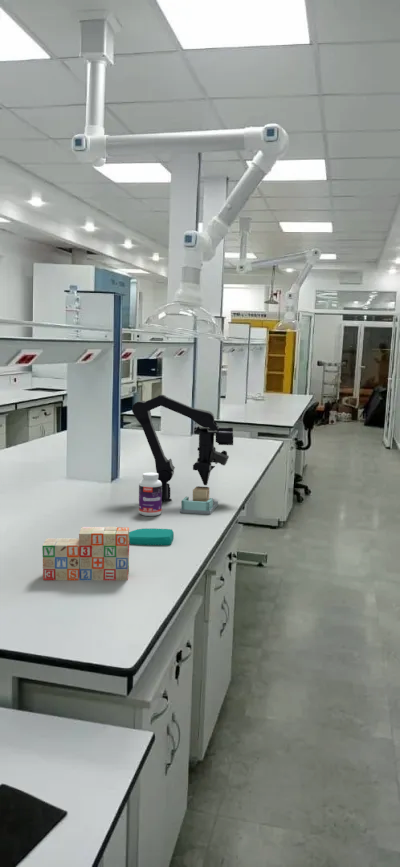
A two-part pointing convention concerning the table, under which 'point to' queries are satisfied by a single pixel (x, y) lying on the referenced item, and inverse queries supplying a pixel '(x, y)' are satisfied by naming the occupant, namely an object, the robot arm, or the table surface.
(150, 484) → the pill bottle
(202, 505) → the dock
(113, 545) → the stack of blocks
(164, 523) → the table surface
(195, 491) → the cardboard box with slot
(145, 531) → the teal flat block
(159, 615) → the table surface
